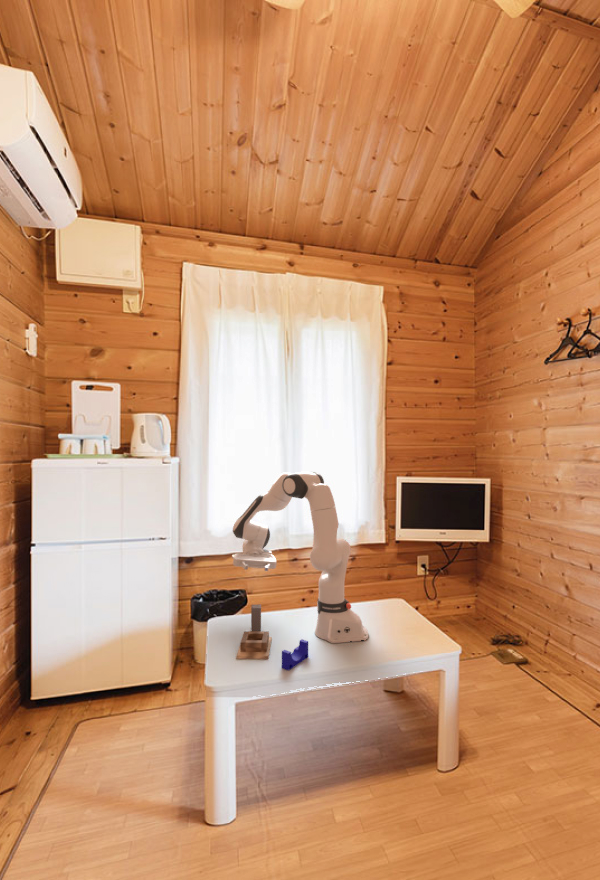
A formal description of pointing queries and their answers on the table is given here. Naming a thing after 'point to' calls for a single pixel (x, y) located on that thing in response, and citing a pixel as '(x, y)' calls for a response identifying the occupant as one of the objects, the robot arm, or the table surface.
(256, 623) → the peg
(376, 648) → the table surface
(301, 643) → the blue cradle bracket
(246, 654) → the socket board
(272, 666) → the table surface
